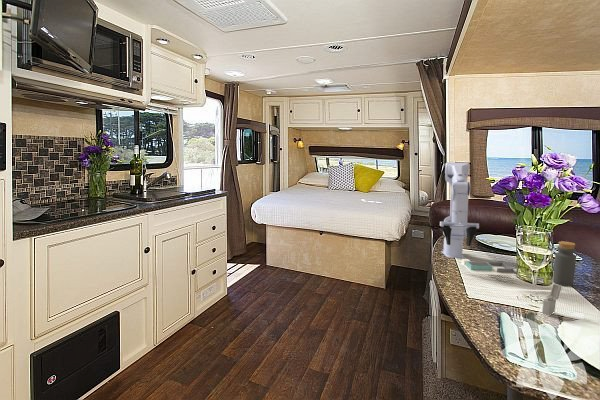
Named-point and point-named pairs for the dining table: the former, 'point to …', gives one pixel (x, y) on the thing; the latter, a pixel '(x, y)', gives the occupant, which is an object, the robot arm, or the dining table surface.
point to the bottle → (564, 264)
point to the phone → (479, 266)
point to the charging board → (497, 268)
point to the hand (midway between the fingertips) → (458, 245)
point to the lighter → (551, 300)
